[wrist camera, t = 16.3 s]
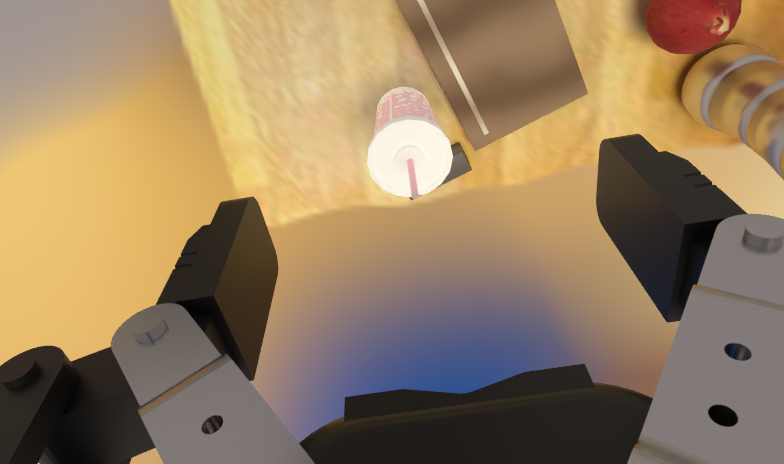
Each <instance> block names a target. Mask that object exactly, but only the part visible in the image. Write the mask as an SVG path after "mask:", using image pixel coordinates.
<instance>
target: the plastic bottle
mask: <svg viewBox="0 0 784 464" xmlns="http://www.w3.org/2000/svg"><path fill="white" fill-rule="evenodd" d="M681 96H682V102H683V104H684V107H685V108H686V109H687V111H688V112H689V113H690V115H691V116H692V117H693V118H694V120H696V121H697V122H699V123H701V124H703V125H705V126H707V127H710V128H712V129H715V130H718V131H722V132H724V133H726V134H728V135H730V136H732V137H734V138H735V139H737V140H739V141H741V142H743V143H745V144H746V145H747V146H748V147H750V148H751V149H752V150H753V151H755V152H756V153H757V154H758V155H759V156H761V157H762V158H763V159H764V160H766V161H767V163H768V164H769V165H770V166H771V167H772V168H773V169H774V170H775V171H776V172H777V173H778V174H779V175H780V177H781V178H782V179H783V180H784V66H783V65H782V64H781V63H780V62H779V61H778V60H777V59H776V58H774V57H773V56H772V55H770V54H769V53H768V52H766V51H765V50H763V49H761V48H758V47H755V46H748V45H741V44H731V45H726V46H722V47H720V48H717V49H715V50H713V51H711V52H710V53H708V54H706V55H705V56H703V57H702V58H701V59H699V60H698V61H697V62H696V63H695V64H694V65H693V66H692V68H691V69H690V71H689V72H688V74H687V76H686V78H685V80H684V84H683V87H682V95H681Z"/></svg>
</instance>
